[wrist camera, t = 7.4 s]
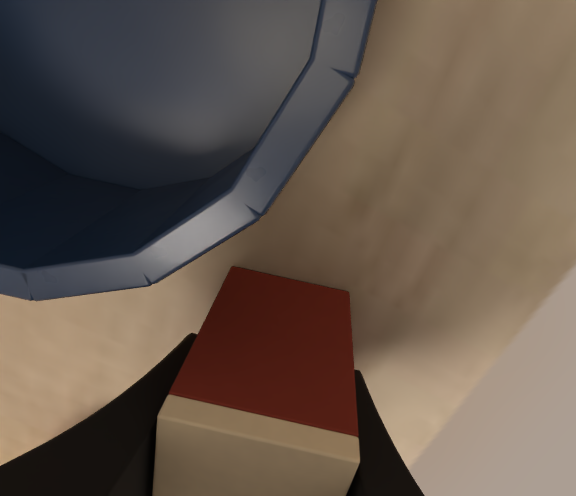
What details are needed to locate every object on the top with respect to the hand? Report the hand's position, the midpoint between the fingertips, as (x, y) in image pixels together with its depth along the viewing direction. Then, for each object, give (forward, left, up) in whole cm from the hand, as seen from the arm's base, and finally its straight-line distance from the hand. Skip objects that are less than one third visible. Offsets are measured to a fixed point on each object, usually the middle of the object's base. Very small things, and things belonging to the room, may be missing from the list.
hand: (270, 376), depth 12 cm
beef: (0, 0, -2) cm, 2 cm away
